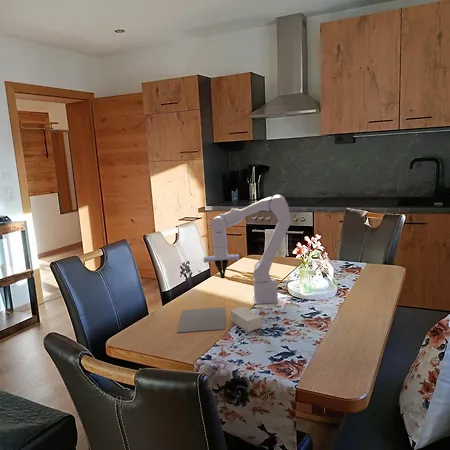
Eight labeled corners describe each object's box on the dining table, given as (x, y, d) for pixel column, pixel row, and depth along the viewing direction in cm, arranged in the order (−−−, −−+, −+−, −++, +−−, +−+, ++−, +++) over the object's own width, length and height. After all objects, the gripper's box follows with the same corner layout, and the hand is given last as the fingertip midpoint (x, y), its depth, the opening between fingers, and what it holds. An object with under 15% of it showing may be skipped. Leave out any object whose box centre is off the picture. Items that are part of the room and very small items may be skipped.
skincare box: (230, 321, 155) (247, 332, 144) (230, 310, 154) (246, 320, 143) (245, 317, 157) (262, 327, 147) (244, 306, 157) (261, 316, 146)
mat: (224, 307, 168) (224, 307, 168) (224, 329, 148) (224, 328, 148) (182, 311, 168) (182, 310, 168) (177, 332, 148) (177, 332, 148)
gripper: (237, 242, 174) (240, 273, 177) (203, 244, 174) (205, 276, 177) (238, 246, 167) (240, 278, 170) (202, 249, 167) (205, 281, 170)
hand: (222, 277), depth 173 cm, fingers closed
